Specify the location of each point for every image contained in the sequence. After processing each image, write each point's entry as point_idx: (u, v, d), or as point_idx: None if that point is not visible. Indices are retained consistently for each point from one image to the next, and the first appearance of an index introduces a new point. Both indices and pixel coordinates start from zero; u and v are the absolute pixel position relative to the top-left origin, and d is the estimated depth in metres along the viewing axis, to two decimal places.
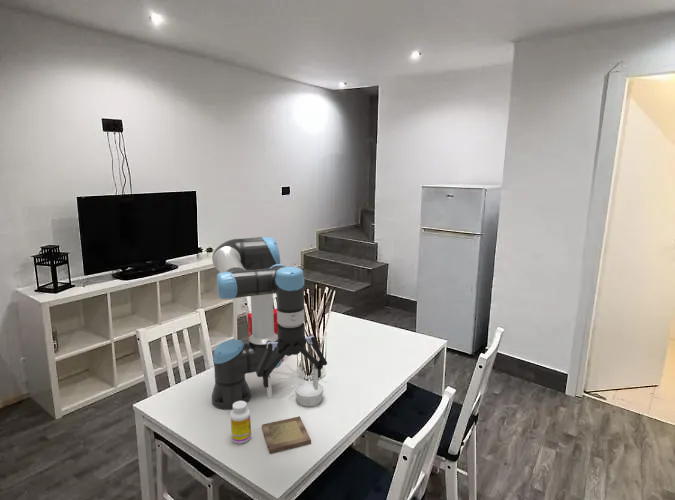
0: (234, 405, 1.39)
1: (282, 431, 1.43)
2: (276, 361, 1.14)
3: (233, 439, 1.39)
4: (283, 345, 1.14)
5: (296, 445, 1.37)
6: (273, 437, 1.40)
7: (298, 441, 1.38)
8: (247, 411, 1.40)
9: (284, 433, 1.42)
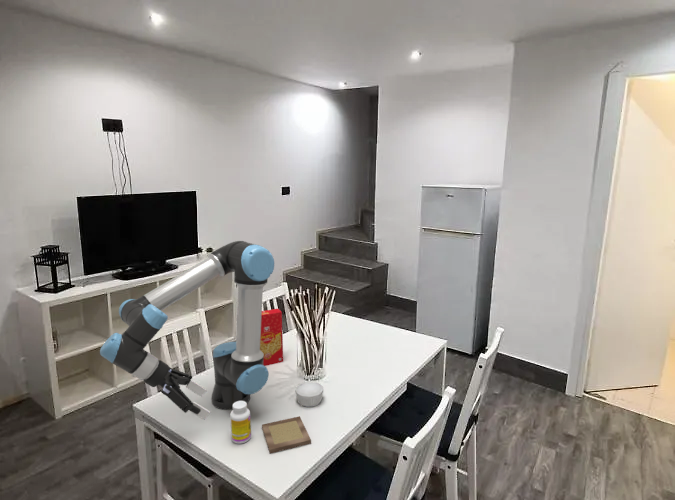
0: (234, 405, 1.39)
1: (282, 431, 1.43)
2: None
3: (233, 439, 1.39)
4: None
5: (296, 445, 1.37)
6: (273, 437, 1.40)
7: (298, 441, 1.38)
8: (247, 411, 1.40)
9: (284, 433, 1.42)
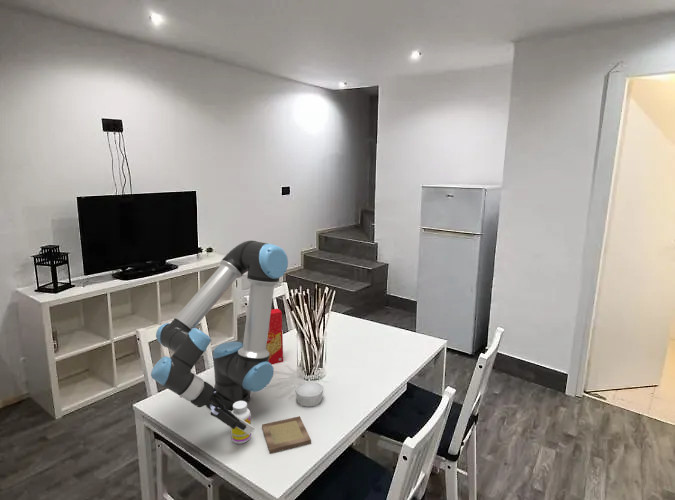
0: (234, 405, 1.39)
1: (282, 431, 1.43)
2: None
3: (233, 439, 1.39)
4: None
5: (296, 445, 1.37)
6: (273, 437, 1.40)
7: (298, 441, 1.38)
8: (247, 411, 1.40)
9: (284, 433, 1.42)
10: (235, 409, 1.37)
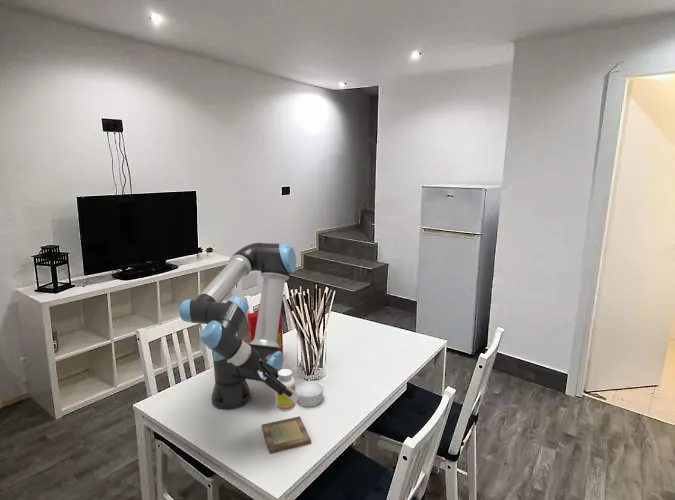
0: (280, 373, 1.37)
1: (282, 431, 1.43)
2: None
3: (278, 407, 1.38)
4: None
5: (296, 445, 1.37)
6: (273, 437, 1.40)
7: (298, 441, 1.38)
8: (292, 379, 1.38)
9: (284, 433, 1.42)
10: (281, 376, 1.36)
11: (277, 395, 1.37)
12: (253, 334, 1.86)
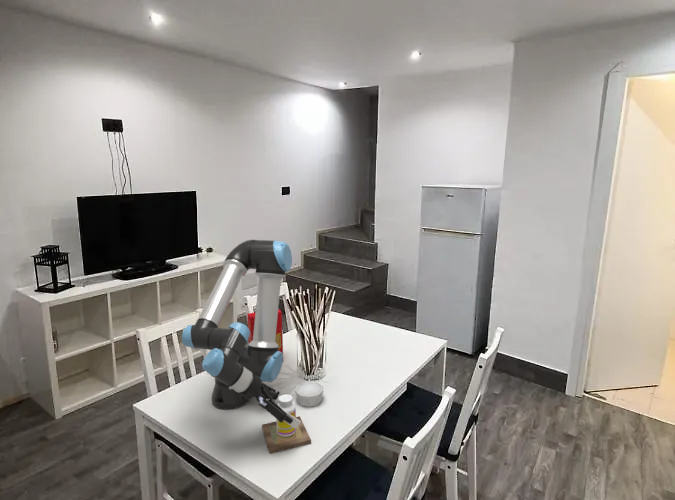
0: (280, 398, 1.40)
1: None
2: None
3: (279, 432, 1.40)
4: None
5: (296, 445, 1.37)
6: (273, 437, 1.40)
7: (298, 441, 1.38)
8: (293, 405, 1.41)
9: None
10: (281, 402, 1.38)
11: (278, 421, 1.40)
12: None
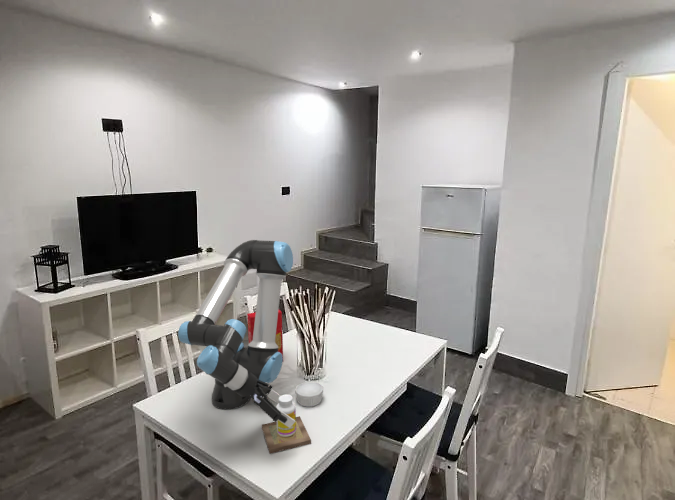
0: (280, 398, 1.40)
1: None
2: None
3: (279, 432, 1.40)
4: None
5: (296, 445, 1.37)
6: (273, 437, 1.40)
7: (298, 441, 1.38)
8: (293, 405, 1.41)
9: None
10: (281, 402, 1.38)
11: (278, 421, 1.40)
12: None
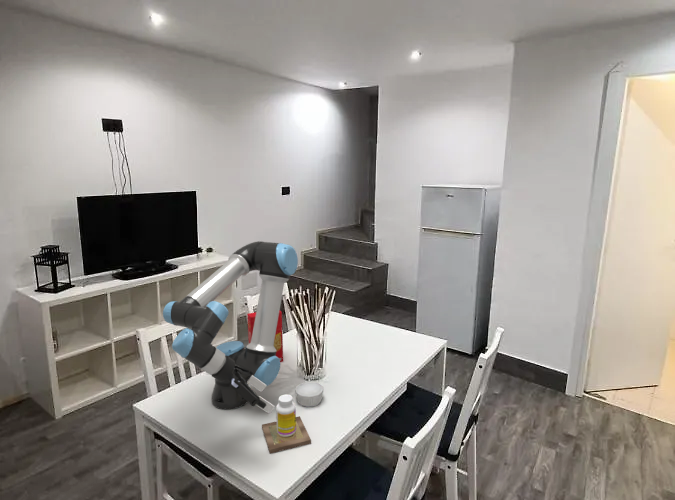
0: (280, 398, 1.40)
1: None
2: None
3: (279, 432, 1.40)
4: None
5: (296, 445, 1.37)
6: (273, 437, 1.40)
7: (298, 441, 1.38)
8: (293, 405, 1.41)
9: None
10: (281, 402, 1.38)
11: (278, 421, 1.40)
12: None
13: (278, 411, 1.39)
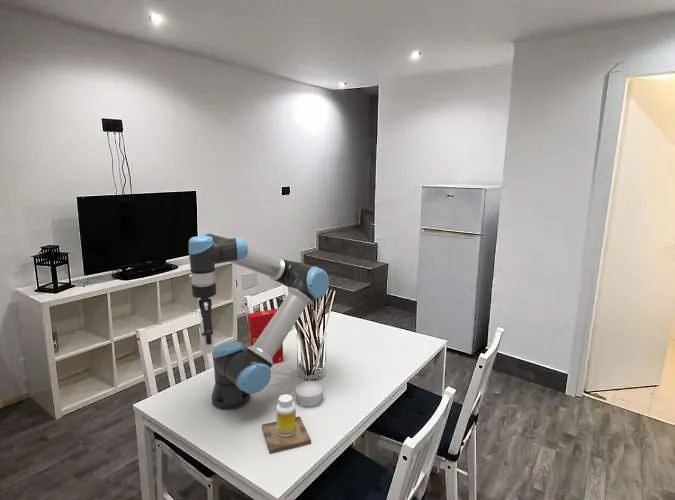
0: (280, 398, 1.40)
1: None
2: None
3: (279, 432, 1.40)
4: None
5: (296, 445, 1.37)
6: (273, 437, 1.40)
7: (298, 441, 1.38)
8: (293, 405, 1.41)
9: None
10: (281, 402, 1.38)
11: (278, 421, 1.40)
12: (253, 334, 1.86)
13: (278, 411, 1.39)
